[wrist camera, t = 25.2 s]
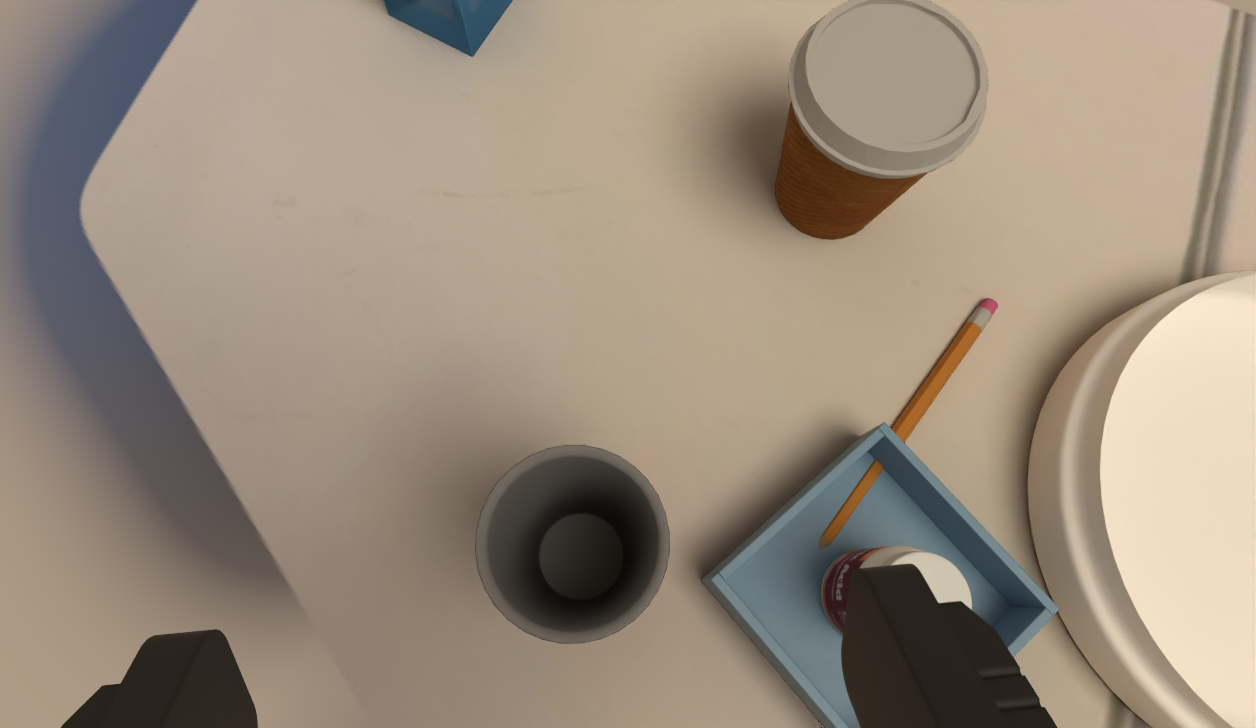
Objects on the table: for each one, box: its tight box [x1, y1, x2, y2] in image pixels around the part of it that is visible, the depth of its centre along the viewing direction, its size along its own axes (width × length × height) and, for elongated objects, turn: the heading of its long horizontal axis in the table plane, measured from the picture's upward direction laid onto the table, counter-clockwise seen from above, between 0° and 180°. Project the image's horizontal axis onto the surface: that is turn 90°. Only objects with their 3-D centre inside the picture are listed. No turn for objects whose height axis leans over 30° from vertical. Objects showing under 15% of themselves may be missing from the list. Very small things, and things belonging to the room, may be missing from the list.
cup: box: [475, 445, 670, 643], centre depth 35 cm, size 7×7×15 cm
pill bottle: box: [821, 545, 972, 636], centre depth 38 cm, size 5×5×8 cm
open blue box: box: [701, 422, 1059, 728], centre depth 40 cm, size 12×12×4 cm
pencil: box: [819, 298, 998, 549], centre depth 45 cm, size 1×1×19 cm
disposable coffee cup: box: [775, 0, 988, 239], centre depth 43 cm, size 10×10×12 cm
